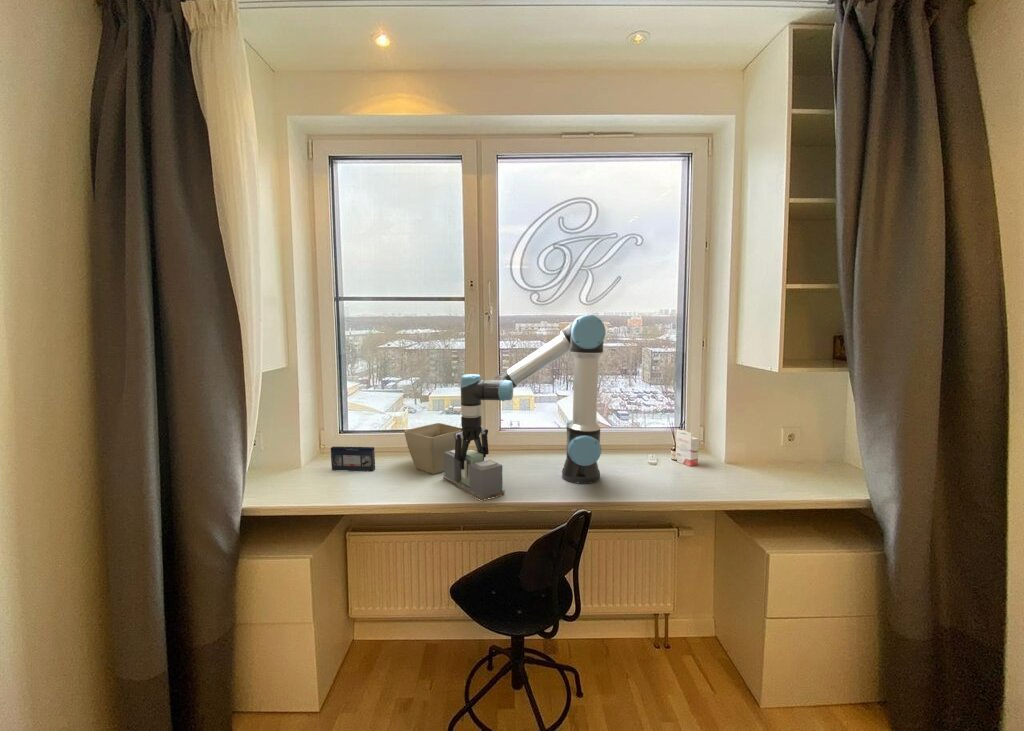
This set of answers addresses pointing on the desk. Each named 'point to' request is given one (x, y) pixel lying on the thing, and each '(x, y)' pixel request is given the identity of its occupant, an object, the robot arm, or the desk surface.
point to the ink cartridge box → (686, 448)
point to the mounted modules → (476, 474)
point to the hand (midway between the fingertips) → (472, 475)
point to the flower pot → (431, 445)
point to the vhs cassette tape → (353, 458)
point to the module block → (471, 459)
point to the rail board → (467, 489)
